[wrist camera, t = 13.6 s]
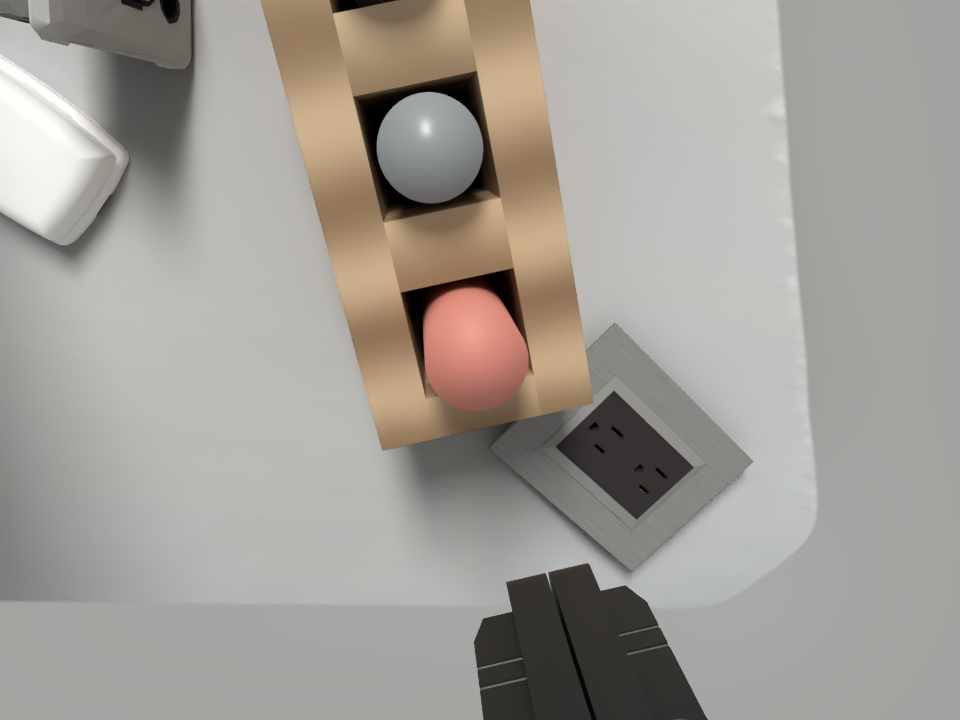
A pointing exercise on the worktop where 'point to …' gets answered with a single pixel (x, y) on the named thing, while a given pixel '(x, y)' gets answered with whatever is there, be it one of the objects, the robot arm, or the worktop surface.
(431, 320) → the salmon pink plug
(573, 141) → the worktop surface
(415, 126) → the grey plug middle
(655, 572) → the worktop surface
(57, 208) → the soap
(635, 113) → the worktop surface
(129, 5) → the electrical switch
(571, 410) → the electrical outlet
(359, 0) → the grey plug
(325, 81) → the socket block
